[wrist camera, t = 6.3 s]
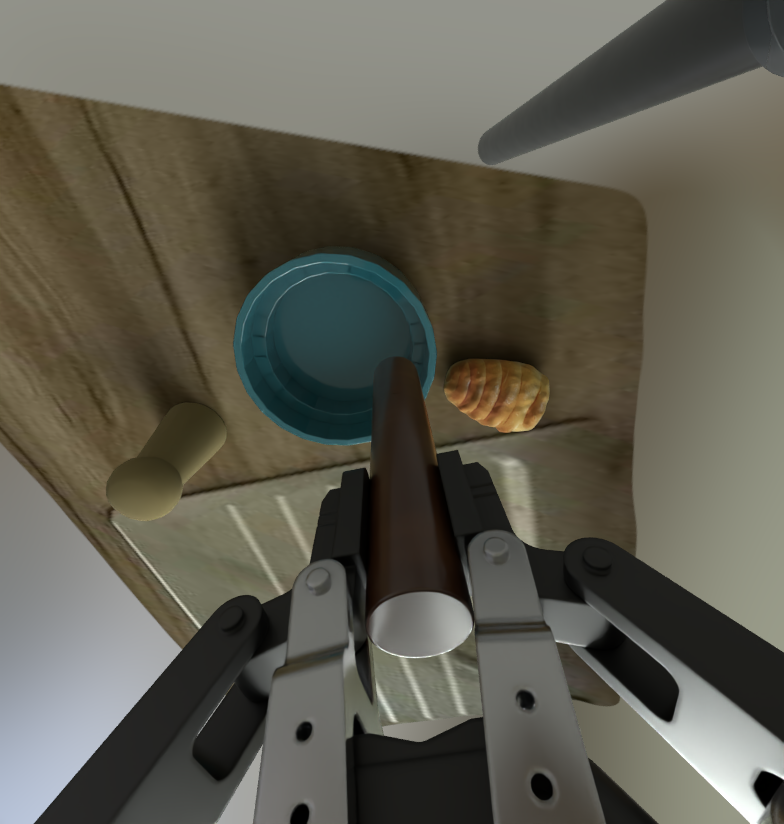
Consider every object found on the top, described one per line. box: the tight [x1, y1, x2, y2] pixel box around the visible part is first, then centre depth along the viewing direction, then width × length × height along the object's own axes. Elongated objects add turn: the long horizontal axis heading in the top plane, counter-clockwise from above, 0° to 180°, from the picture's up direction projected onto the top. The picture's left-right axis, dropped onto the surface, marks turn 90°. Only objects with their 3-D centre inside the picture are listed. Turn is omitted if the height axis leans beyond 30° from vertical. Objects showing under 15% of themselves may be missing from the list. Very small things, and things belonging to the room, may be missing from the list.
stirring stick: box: [365, 356, 475, 658], centre depth 15 cm, size 2×2×14 cm
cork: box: [106, 402, 227, 521], centre depth 34 cm, size 6×6×11 cm
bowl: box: [233, 246, 437, 445], centre depth 32 cm, size 15×15×6 cm
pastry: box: [444, 359, 549, 433], centre depth 35 cm, size 9×7×4 cm
